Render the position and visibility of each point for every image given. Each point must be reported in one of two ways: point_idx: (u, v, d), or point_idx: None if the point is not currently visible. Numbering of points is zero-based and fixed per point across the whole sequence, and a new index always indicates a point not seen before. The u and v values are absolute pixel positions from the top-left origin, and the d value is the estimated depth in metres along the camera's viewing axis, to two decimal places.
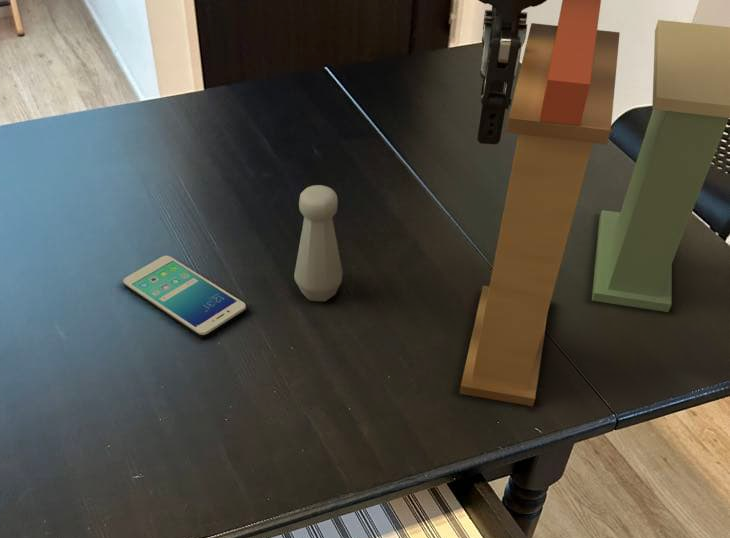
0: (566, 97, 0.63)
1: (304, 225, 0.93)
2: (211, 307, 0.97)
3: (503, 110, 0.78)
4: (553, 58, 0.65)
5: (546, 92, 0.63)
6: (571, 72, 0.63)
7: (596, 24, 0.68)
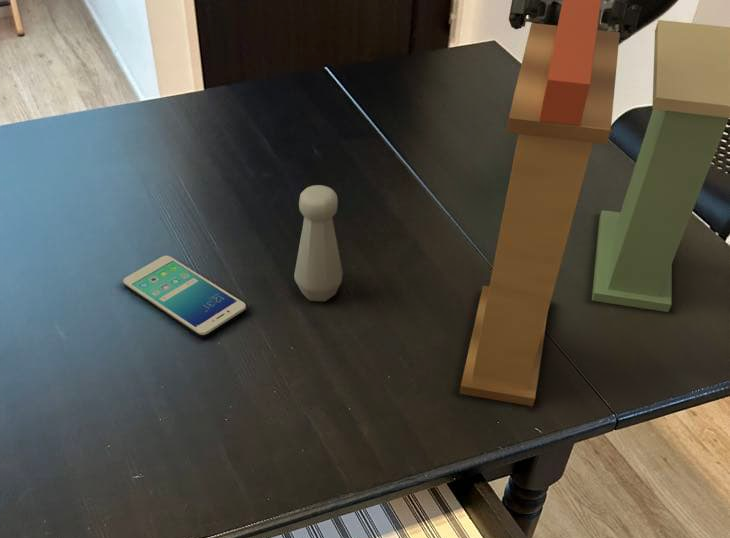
0: (566, 97, 0.63)
1: (304, 225, 0.93)
2: (211, 307, 0.97)
3: None
4: (553, 58, 0.65)
5: (546, 92, 0.63)
6: (571, 72, 0.63)
7: (596, 24, 0.68)
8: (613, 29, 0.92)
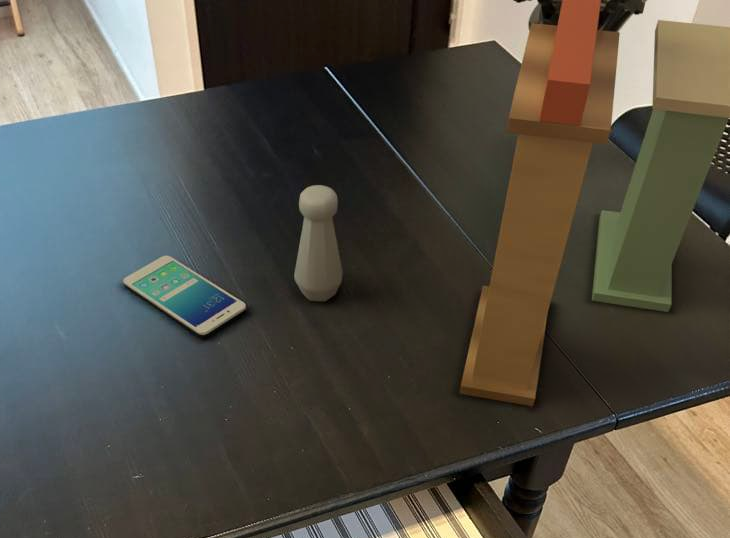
0: (566, 97, 0.63)
1: (304, 225, 0.93)
2: (211, 307, 0.97)
3: None
4: (553, 58, 0.65)
5: (546, 92, 0.63)
6: (571, 72, 0.63)
7: (596, 24, 0.68)
8: None
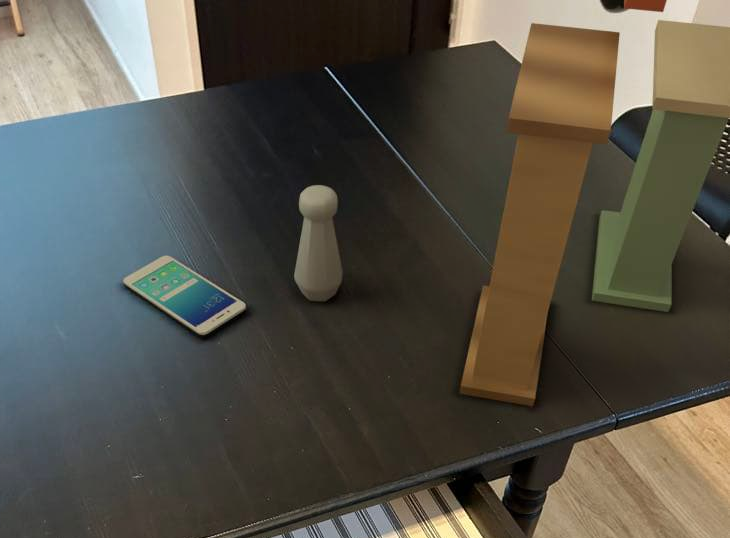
0: None
1: (304, 225, 0.93)
2: (211, 307, 0.97)
3: None
4: None
5: None
6: None
7: None
8: None
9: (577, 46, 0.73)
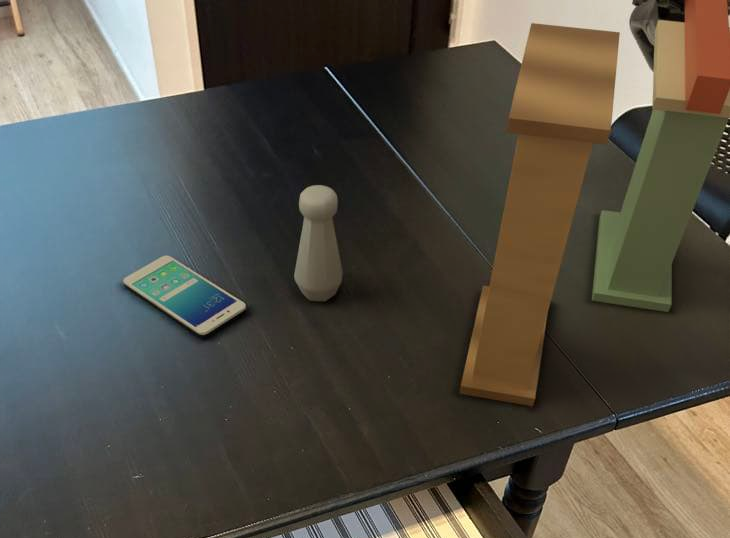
0: (712, 90, 0.76)
1: (304, 225, 0.93)
2: (211, 307, 0.97)
3: None
4: (698, 58, 0.78)
5: (695, 86, 0.77)
6: (716, 69, 0.76)
7: (728, 29, 0.82)
8: None
9: (577, 46, 0.73)
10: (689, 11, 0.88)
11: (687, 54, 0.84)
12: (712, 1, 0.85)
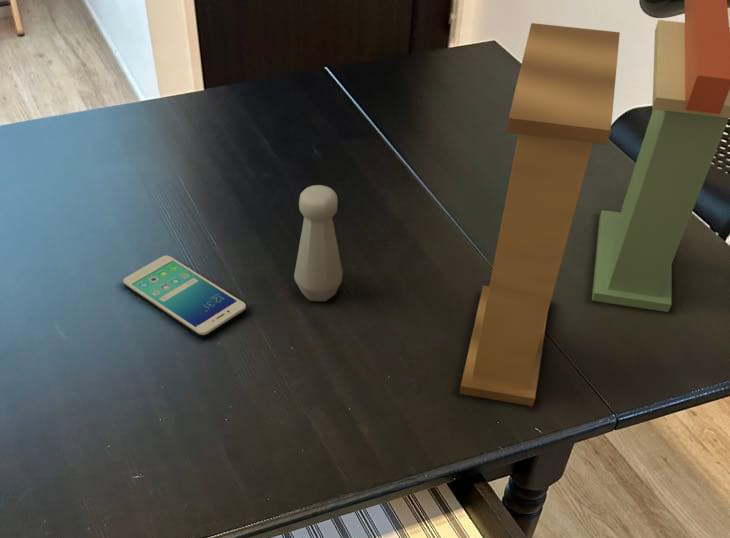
0: (712, 90, 0.76)
1: (304, 225, 0.93)
2: (211, 307, 0.97)
3: None
4: (698, 58, 0.78)
5: (695, 86, 0.77)
6: (716, 69, 0.76)
7: (728, 29, 0.82)
8: None
9: (577, 46, 0.73)
10: (689, 11, 0.88)
11: (687, 54, 0.84)
12: (712, 1, 0.85)
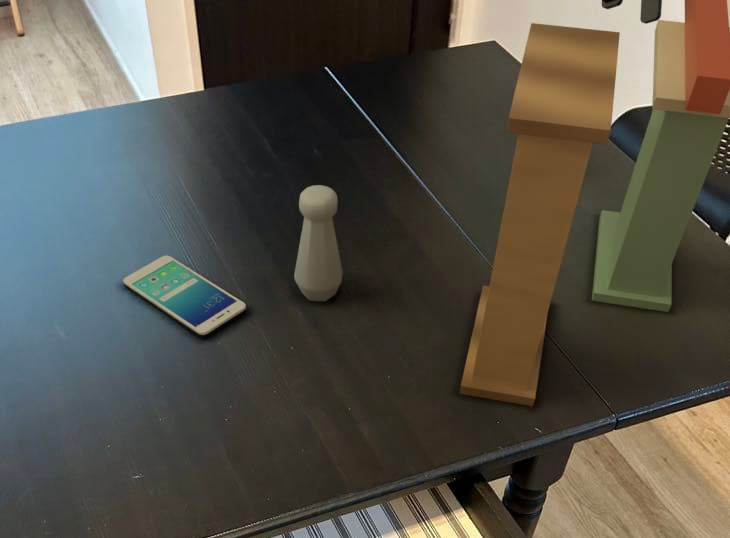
0: (711, 90, 0.76)
1: (304, 225, 0.93)
2: (211, 307, 0.97)
3: None
4: (698, 58, 0.78)
5: (694, 86, 0.77)
6: (716, 69, 0.76)
7: (728, 29, 0.81)
8: None
9: (577, 46, 0.73)
10: (689, 11, 0.88)
11: (687, 54, 0.84)
12: (712, 1, 0.85)
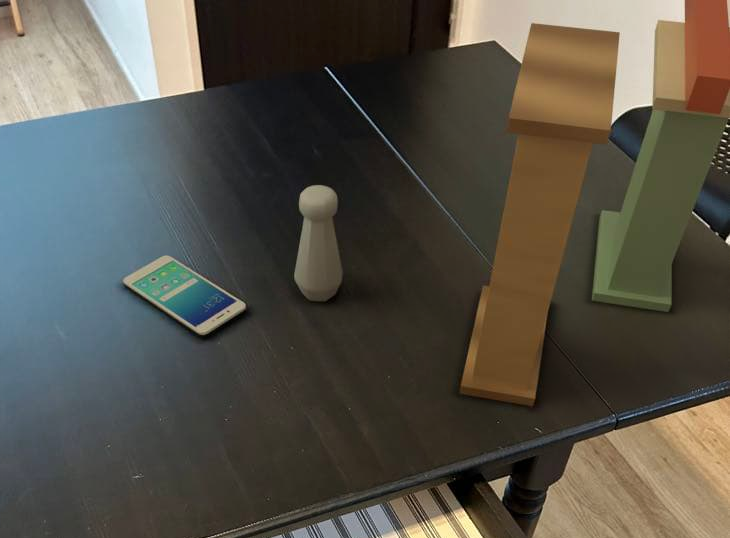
0: (711, 90, 0.76)
1: (304, 225, 0.93)
2: (211, 307, 0.97)
3: None
4: (698, 58, 0.78)
5: (694, 86, 0.77)
6: (716, 69, 0.76)
7: (728, 29, 0.81)
8: None
9: (577, 46, 0.73)
10: (689, 11, 0.88)
11: (687, 54, 0.84)
12: (712, 1, 0.85)
